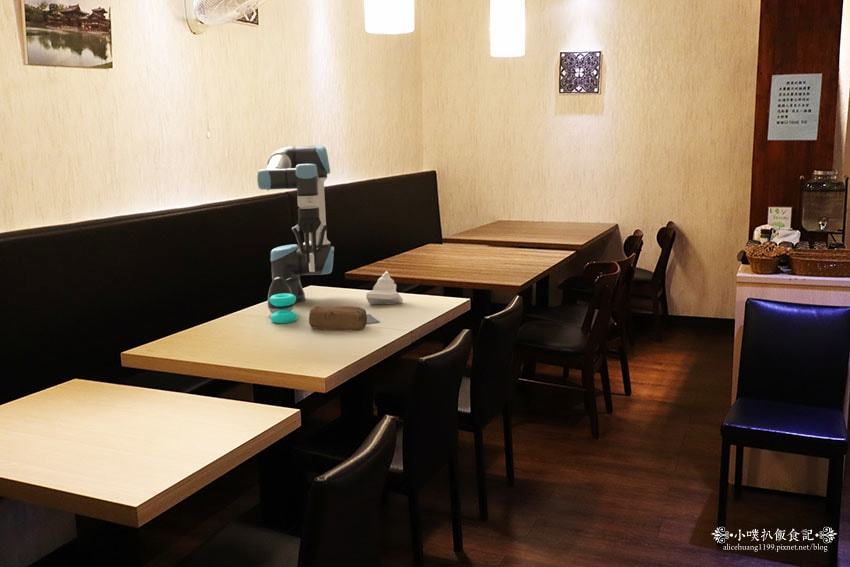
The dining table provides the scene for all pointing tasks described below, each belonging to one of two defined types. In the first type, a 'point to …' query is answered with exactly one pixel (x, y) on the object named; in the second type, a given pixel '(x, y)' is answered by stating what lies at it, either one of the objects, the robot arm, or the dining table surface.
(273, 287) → the dark grey tapered piece
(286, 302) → the donuts
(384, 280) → the soft serve ice cream
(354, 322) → the block
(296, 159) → the robot arm
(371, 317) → the mat
